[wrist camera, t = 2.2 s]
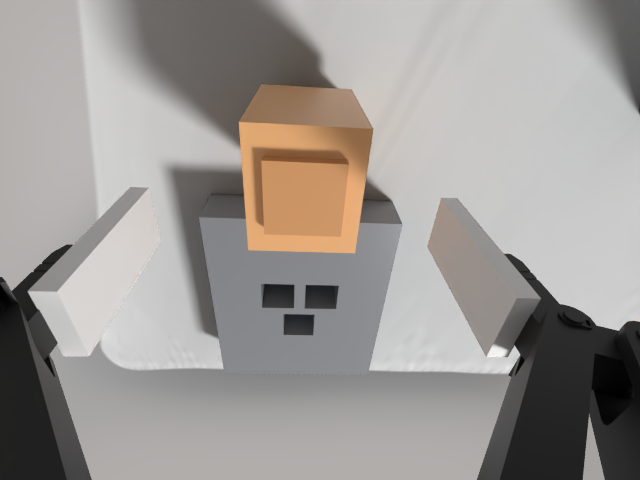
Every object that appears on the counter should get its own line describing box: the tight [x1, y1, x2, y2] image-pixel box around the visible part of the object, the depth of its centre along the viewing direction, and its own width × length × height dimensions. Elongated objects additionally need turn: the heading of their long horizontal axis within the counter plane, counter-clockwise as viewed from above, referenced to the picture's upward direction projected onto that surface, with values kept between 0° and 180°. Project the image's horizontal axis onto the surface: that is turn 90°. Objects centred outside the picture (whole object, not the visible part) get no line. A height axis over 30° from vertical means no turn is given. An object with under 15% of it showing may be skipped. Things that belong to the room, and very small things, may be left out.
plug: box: [239, 84, 373, 253], centre depth 22 cm, size 7×6×12 cm
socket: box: [199, 194, 402, 374], centre depth 34 cm, size 20×16×4 cm
